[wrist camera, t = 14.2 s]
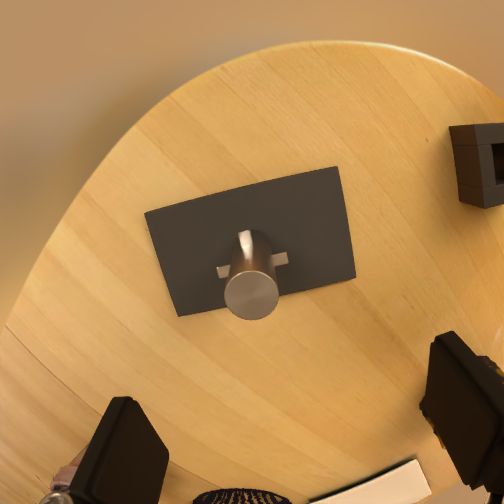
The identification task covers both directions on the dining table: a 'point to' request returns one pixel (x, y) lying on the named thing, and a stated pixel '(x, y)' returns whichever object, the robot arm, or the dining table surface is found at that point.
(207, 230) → the mat
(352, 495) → the plate
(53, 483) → the potted plant
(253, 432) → the dining table surface
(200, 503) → the decorative bowl
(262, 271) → the bronze metal rod
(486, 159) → the dark square ring block
